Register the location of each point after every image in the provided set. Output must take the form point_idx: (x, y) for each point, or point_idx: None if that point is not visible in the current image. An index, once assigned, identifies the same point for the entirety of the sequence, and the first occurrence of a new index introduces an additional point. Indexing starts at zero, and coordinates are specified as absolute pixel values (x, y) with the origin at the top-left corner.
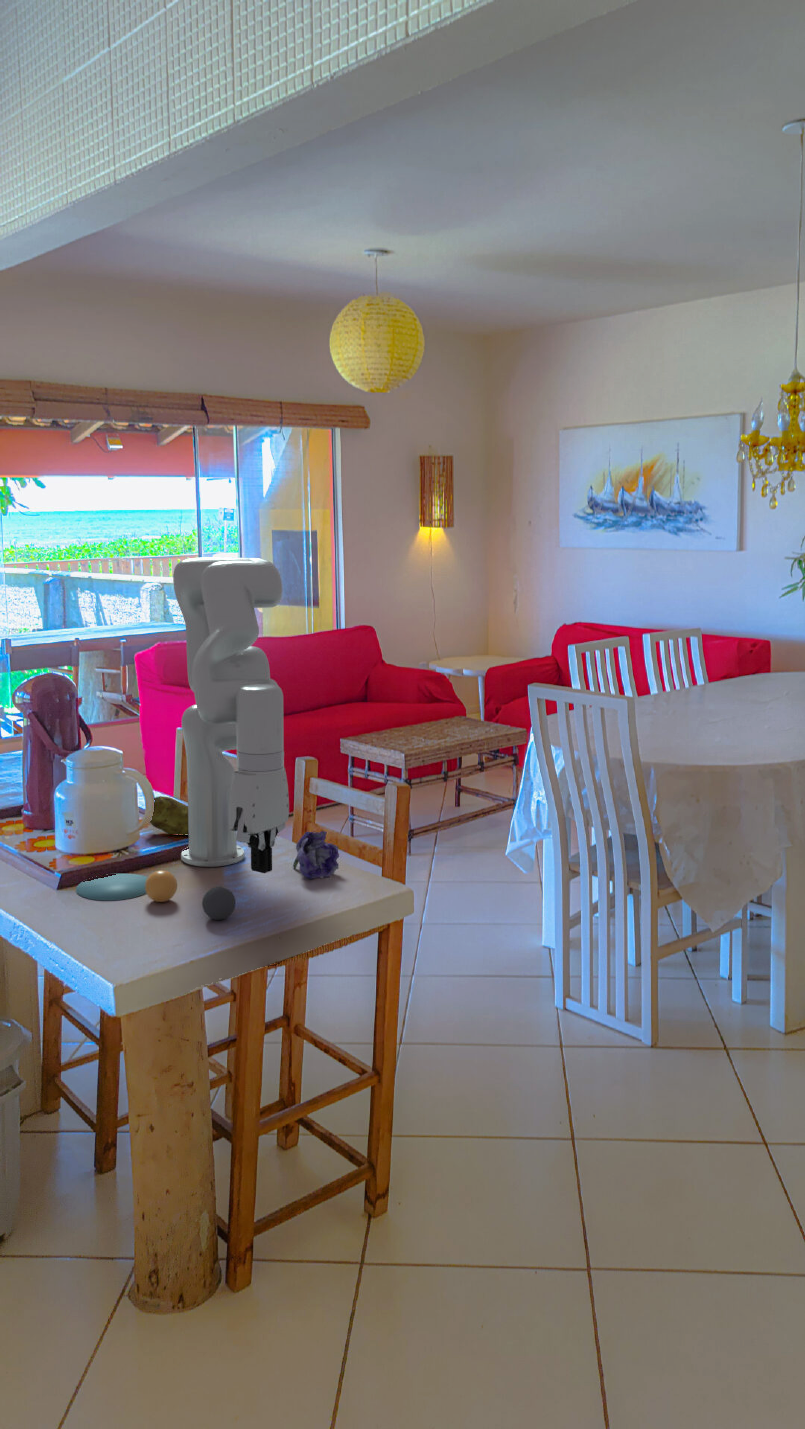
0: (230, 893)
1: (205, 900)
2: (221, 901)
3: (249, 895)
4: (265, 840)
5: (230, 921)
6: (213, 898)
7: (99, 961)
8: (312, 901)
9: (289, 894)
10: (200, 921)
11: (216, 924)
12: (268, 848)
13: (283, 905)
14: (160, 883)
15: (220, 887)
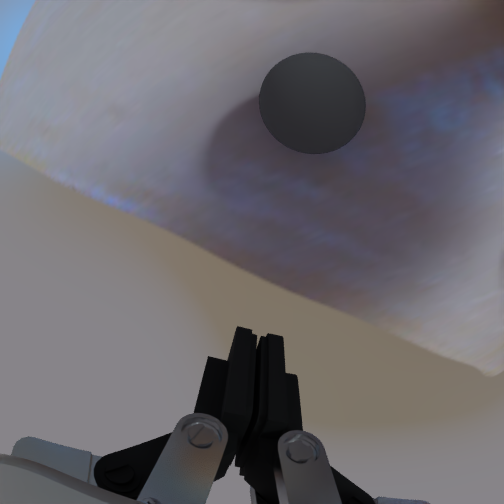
0: (326, 139)
1: (268, 75)
2: (275, 130)
3: (468, 123)
4: (265, 487)
5: None
6: (269, 102)
7: (23, 51)
8: (464, 276)
9: (491, 213)
10: None
11: None
12: (241, 470)
13: (437, 227)
14: None
15: (323, 102)
